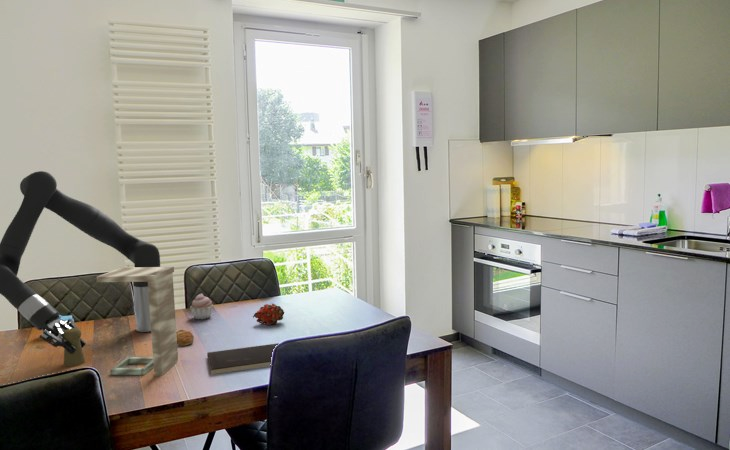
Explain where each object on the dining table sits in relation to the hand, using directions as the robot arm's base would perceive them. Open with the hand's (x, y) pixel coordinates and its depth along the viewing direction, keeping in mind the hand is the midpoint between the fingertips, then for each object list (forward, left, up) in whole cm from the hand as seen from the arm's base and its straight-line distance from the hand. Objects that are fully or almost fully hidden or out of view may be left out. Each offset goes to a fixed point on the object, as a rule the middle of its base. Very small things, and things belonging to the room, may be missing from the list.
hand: (78, 348), depth 172 cm
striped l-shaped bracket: (-9, +21, -5) cm, 24 cm away
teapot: (-9, -38, -5) cm, 39 cm away
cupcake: (-54, -12, -5) cm, 55 cm away
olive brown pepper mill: (+1, -2, -5) cm, 5 cm away
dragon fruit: (-63, +18, -5) cm, 66 cm away
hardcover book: (-32, +43, -5) cm, 53 cm away
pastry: (-31, +10, -5) cm, 33 cm away
